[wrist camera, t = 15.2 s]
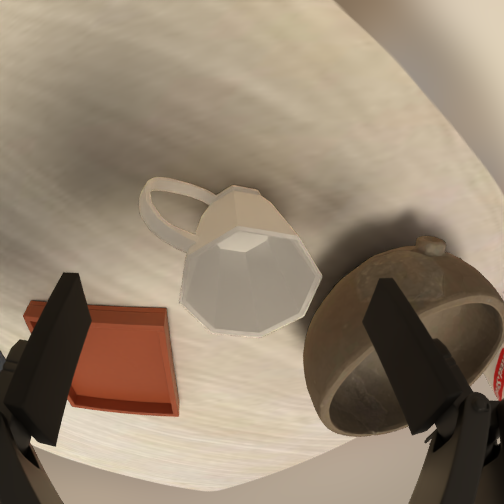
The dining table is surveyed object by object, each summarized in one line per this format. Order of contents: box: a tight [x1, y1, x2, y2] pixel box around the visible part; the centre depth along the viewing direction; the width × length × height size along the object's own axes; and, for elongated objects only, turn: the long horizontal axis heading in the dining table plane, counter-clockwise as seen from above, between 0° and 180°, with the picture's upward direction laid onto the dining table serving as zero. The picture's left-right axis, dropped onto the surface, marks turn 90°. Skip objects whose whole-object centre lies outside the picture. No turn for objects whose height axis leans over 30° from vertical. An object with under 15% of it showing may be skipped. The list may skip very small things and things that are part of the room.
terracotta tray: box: [23, 301, 179, 417], centre depth 28 cm, size 15×13×2 cm
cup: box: [139, 177, 323, 338], centre depth 18 cm, size 7×10×8 cm
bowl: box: [303, 236, 504, 437], centre depth 24 cm, size 17×18×10 cm
